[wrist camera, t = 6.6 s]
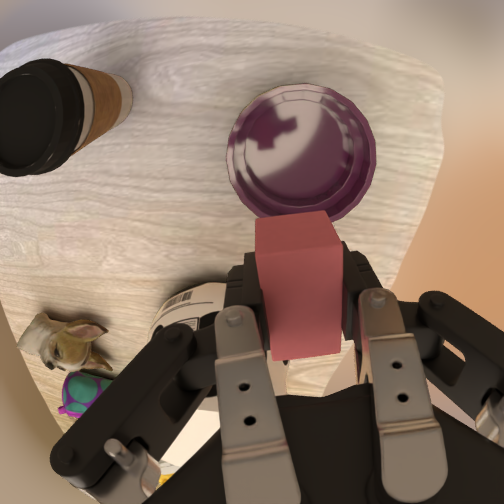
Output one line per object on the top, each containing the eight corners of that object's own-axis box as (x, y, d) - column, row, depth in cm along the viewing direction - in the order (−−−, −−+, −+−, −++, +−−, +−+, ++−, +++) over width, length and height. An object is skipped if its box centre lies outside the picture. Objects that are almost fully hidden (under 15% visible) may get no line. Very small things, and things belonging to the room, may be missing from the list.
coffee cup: (66, 80, 25) (-33, 95, 12) (135, 50, 25) (49, 34, 12) (84, 150, 29) (-5, 200, 16) (153, 126, 29) (80, 162, 16)
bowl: (219, 95, 27) (213, 96, 23) (354, 80, 26) (370, 80, 22) (242, 219, 34) (241, 238, 30) (363, 203, 33) (377, 219, 29)
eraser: (255, 217, 12) (254, 255, 10) (325, 209, 12) (343, 244, 10) (270, 315, 15) (272, 362, 12) (328, 307, 15) (340, 353, 12)
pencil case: (186, 391, 49) (178, 439, 41) (180, 414, 53) (173, 457, 45) (72, 357, 46) (52, 400, 38) (78, 384, 50) (62, 423, 42)
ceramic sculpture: (2, 329, 31) (96, 359, 34) (27, 291, 39) (113, 313, 41) (21, 375, 37) (104, 402, 39) (40, 338, 44) (116, 359, 47)
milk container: (255, 377, 47) (256, 483, 31) (146, 344, 43) (115, 451, 28) (310, 297, 39) (338, 423, 23) (176, 249, 36) (128, 374, 20)
